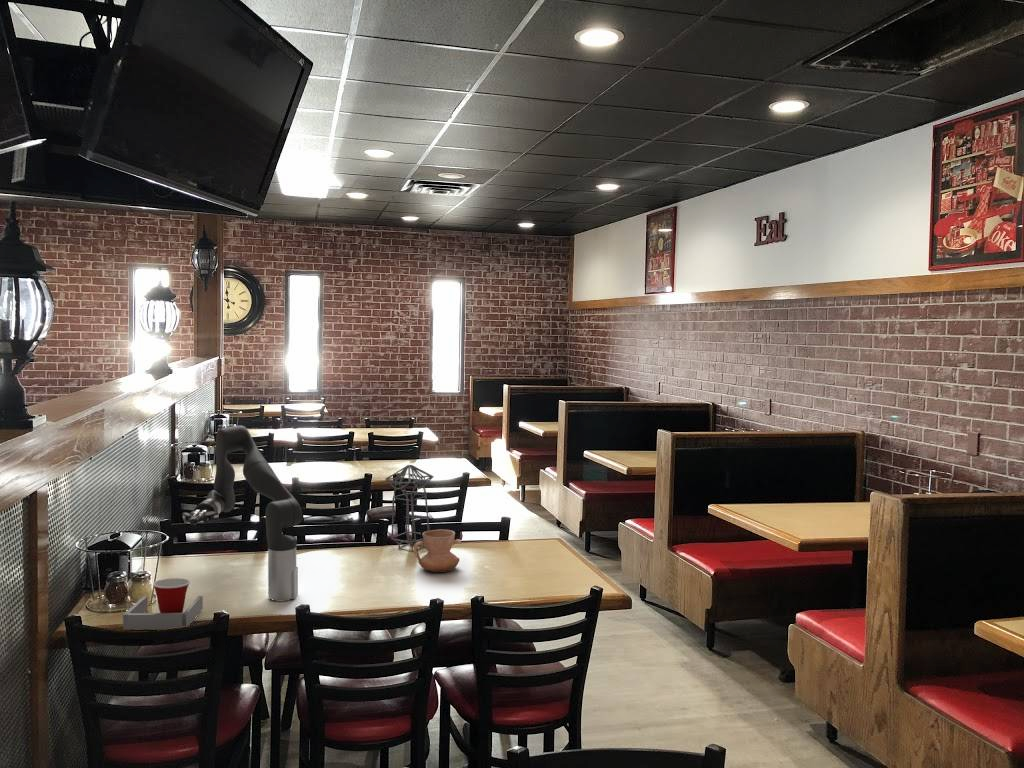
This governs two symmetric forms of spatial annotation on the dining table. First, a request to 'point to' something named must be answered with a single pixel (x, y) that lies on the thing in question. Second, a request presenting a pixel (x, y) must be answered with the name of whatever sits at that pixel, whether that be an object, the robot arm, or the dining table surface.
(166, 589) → the plastic cup
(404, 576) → the dining table surface
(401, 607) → the dining table surface
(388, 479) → the geometric lantern
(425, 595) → the dining table surface
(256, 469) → the robot arm
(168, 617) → the box
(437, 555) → the ceramic jug
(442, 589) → the dining table surface
